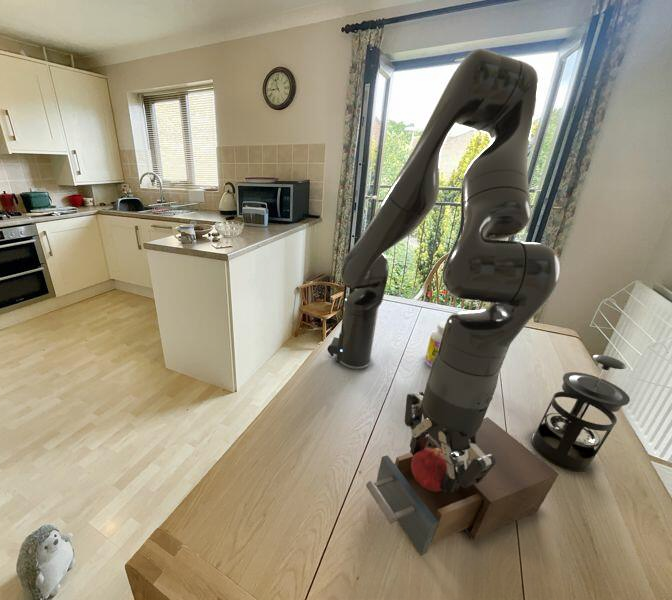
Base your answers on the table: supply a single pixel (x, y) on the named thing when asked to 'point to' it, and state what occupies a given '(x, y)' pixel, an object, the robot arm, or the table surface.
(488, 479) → the cabinet
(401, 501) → the drawer
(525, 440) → the table surface
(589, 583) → the table surface
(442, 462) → the red round piece
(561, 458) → the french press
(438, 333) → the supplement bottle
